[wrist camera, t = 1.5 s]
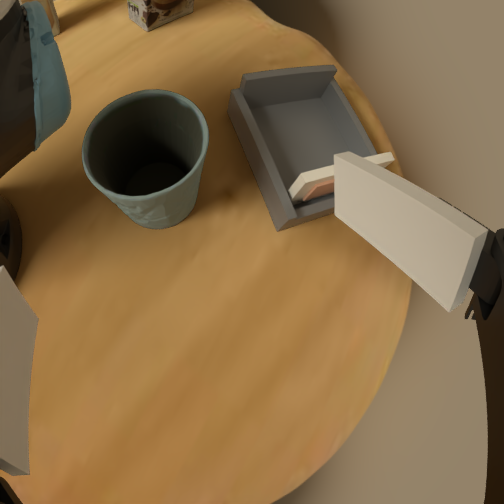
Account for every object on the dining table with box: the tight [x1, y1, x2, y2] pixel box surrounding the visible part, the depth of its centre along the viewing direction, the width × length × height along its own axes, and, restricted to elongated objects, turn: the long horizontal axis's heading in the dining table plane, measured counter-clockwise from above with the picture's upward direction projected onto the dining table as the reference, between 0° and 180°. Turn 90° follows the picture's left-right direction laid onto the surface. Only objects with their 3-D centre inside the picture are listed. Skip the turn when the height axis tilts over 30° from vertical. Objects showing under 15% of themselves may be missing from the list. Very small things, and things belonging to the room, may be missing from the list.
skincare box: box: [21, 0, 60, 36], centre depth 30 cm, size 6×4×12 cm
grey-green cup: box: [82, 89, 209, 229], centre depth 28 cm, size 10×10×12 cm
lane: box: [227, 65, 377, 232], centre depth 34 cm, size 16×14×7 cm
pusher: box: [287, 152, 395, 205], centre depth 32 cm, size 1×11×7 cm, turn 110°
